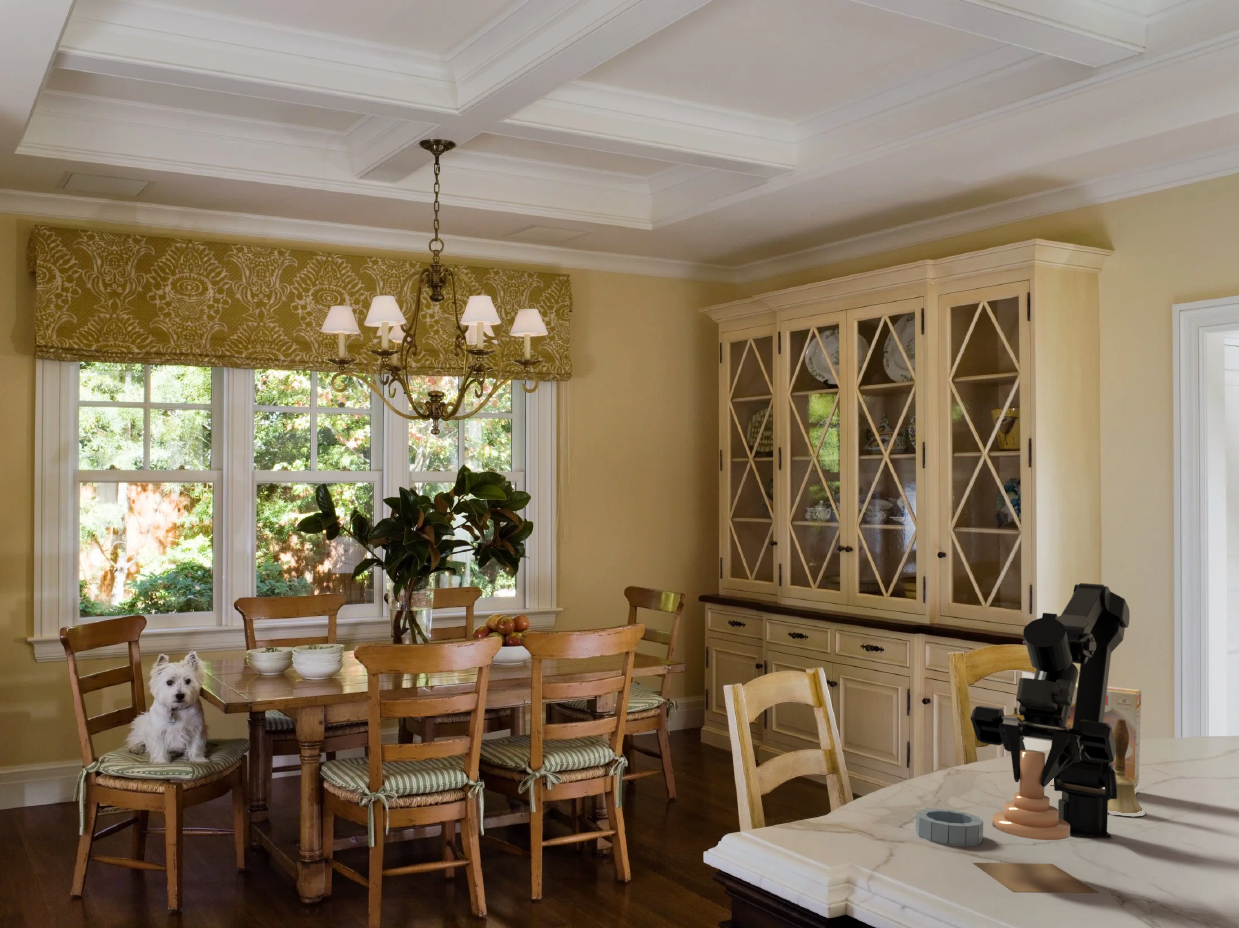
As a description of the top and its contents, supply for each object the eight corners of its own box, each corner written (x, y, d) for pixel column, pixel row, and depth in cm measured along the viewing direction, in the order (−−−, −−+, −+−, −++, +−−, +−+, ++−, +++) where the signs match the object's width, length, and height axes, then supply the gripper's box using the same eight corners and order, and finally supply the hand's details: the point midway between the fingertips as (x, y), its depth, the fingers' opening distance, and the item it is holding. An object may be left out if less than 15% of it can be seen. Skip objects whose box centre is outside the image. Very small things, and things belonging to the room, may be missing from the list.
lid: (1056, 821, 154) (1058, 747, 155) (1080, 842, 144) (1082, 762, 145) (984, 817, 155) (986, 742, 156) (1003, 837, 145) (1005, 757, 146)
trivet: (1052, 868, 155) (1052, 863, 155) (1099, 897, 143) (1099, 892, 144) (972, 867, 154) (972, 862, 154) (1012, 896, 142) (1013, 891, 142)
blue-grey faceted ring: (972, 833, 172) (972, 811, 172) (989, 851, 162) (990, 827, 162) (910, 829, 172) (911, 807, 172) (924, 847, 163) (925, 823, 163)
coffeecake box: (1049, 785, 209) (1051, 683, 210) (1055, 779, 215) (1058, 679, 216) (1134, 799, 201) (1137, 692, 202) (1139, 792, 207) (1141, 688, 208)
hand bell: (1084, 804, 195) (1087, 714, 196) (1129, 806, 195) (1131, 716, 196) (1109, 817, 186) (1111, 723, 187) (1155, 818, 187) (1157, 725, 188)
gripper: (976, 649, 159) (949, 736, 150) (1113, 664, 149) (1093, 758, 139) (991, 698, 165) (965, 784, 156) (1123, 715, 155) (1105, 809, 145)
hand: (1029, 782), depth 149 cm, fingers closed on lid, 3 cm apart
